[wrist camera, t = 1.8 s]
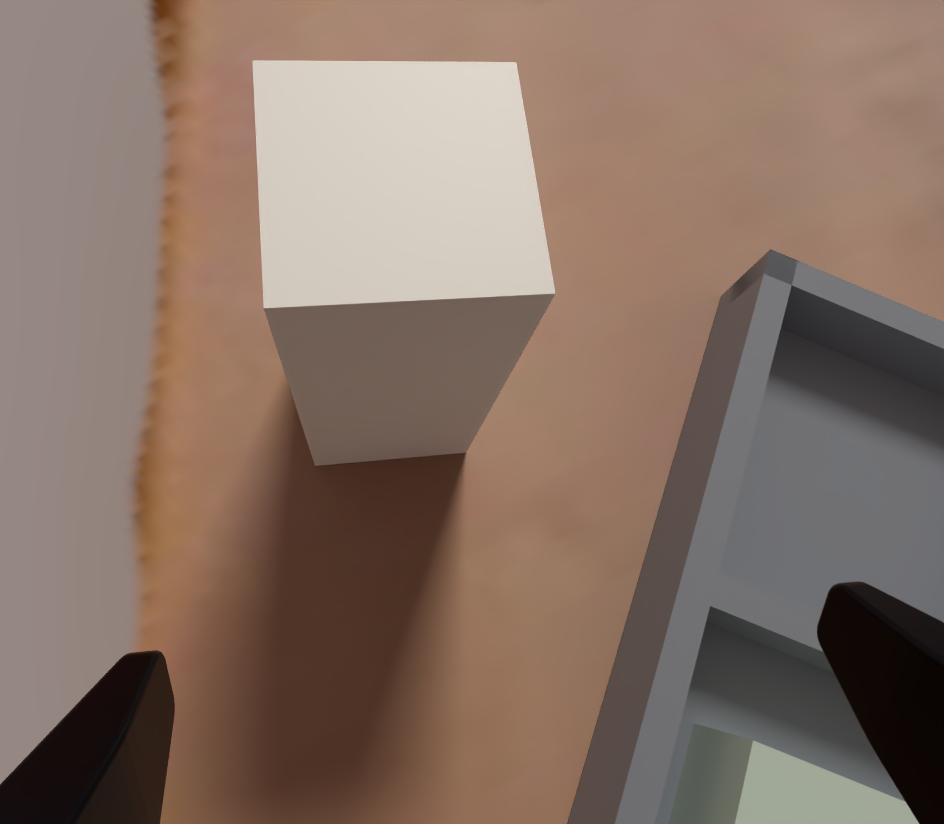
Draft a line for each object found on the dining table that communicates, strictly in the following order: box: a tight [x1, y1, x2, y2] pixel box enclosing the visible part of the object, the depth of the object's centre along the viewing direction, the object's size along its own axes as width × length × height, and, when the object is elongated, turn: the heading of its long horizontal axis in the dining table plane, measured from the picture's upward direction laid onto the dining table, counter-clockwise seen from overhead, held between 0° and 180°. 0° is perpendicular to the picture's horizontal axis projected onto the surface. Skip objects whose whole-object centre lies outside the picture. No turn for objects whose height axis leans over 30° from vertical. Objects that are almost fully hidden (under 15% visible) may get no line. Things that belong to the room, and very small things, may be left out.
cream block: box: [253, 61, 555, 466], centre depth 18 cm, size 5×5×12 cm
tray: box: [567, 249, 944, 824], centre depth 21 cm, size 23×12×4 cm, turn 159°
